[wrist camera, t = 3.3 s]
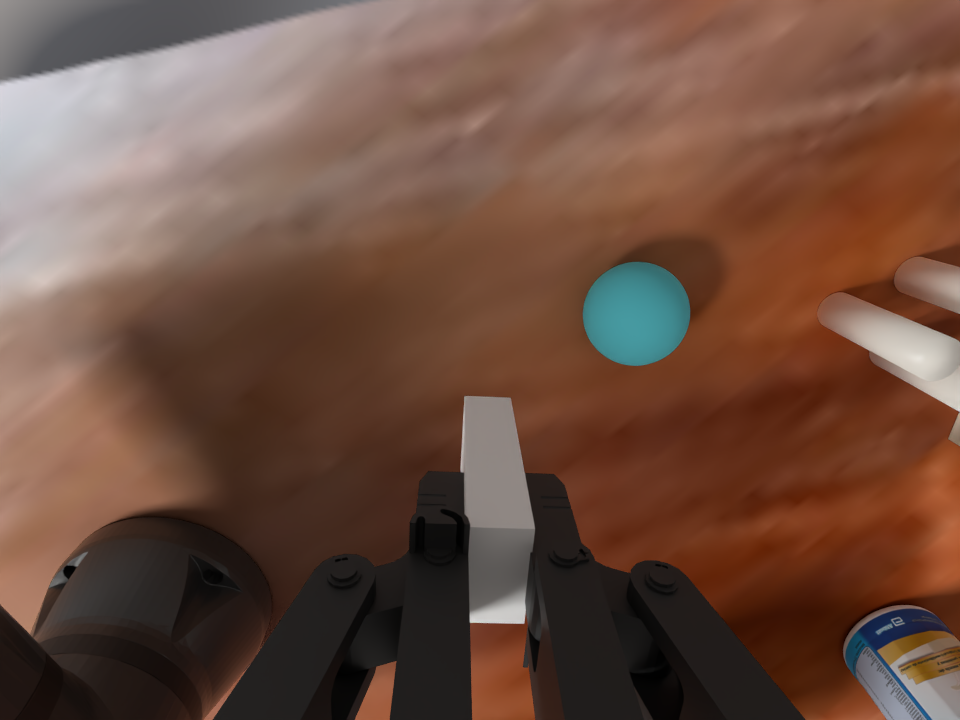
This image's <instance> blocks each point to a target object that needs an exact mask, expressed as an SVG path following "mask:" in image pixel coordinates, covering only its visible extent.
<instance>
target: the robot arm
mask: <svg viewBox="0 0 960 720" xmlns="http://www.w3.org/2000/svg"><path fill="white" fill-rule="evenodd" d="M525 612H526V614H527V621H528V629H527V638H526V646H525V654H524V663H523V667H528V663H529V672H530V680H531V688H532V696H533V704H534V712H535V720H805V719H804V717H803V716H802V715H801V714H800V712H799V711H798V710H797V709H796V708H795V706H794V705H793V704H792V703H791V702H790V700H789V699H788V698H787V697H786V696H785V694H784V693H783V692H782V691H781V689H780V688H779V687H778V686H777V685H776V683H775V682H774V681H773V680H772V679H771V677H770V676H769V675H768V674H767V673H766V671H765V670H764V669H763V668H762V667H761V665H760V664H759V663H758V662H757V660H756V659H755V658H754V657H753V656H752V654H751V653H750V652H749V651H748V650H747V648H746V647H745V646H744V645H743V644H742V642H741V641H740V640H739V639H738V637H737V636H736V635H735V634H734V633H733V631H732V630H731V629H730V628H729V627H728V625H727V624H726V623H725V622H724V621H723V619H722V618H721V617H720V616H719V614H718V613H717V612H716V611H715V610H714V608H713V607H712V606H711V605H710V604H709V602H708V601H707V600H706V599H705V598H704V596H703V595H702V594H701V593H700V591H699V590H698V589H697V588H696V587H695V585H694V584H693V583H692V582H691V581H690V579H689V578H688V577H687V576H686V575H685V574H684V573H683V572H681V571H680V570H679V569H677V568H676V567H674V566H672V565H670V564H668V563H664V562H660V561H643V562H640V563H637V564H636V565H635V566H634V567H633V568H632V569H631V573H627V572H623V571H619V570H616V569H612V568H609V567H606V566H604V565H602V564H600V563H598V562H596V561H595V559H594V557H593V555H592V553H591V551H590V550H589V549H588V548H587V547H585V546H584V545H583V544H582V543H581V540H580V537H579V533H578V530H577V526H576V523H575V519H574V516H573V513H572V509H571V506H570V502H569V499H568V496H567V492H566V489H565V485H564V484H563V483H562V482H561V481H560V480H559V479H558V478H557V477H556V476H555V475H554V474H533V473H525V472H524V466H523V461H522V456H521V450H520V445H519V440H518V434H517V429H516V424H515V418H514V413H513V408H512V402H511V398H506V397H481V396H464V414H463V432H462V450H461V472H436V471H428V472H427V474H426V475H425V476H424V477H423V478H422V479H421V481H420V483H419V492H418V500H417V509H416V514H414V515H413V517H412V519H411V521H410V541H409V551H408V552H407V553H406V554H405V555H404V556H403V557H401V558H400V559H398V560H396V561H394V562H391V563H388V564H385V565H381V566H376V567H374V565H373V564H372V563H371V562H370V561H369V560H368V559H367V558H364V557H362V556H359V555H353V554H343V555H338V556H333V557H331V558H329V559H327V560H325V561H323V562H322V563H321V564H320V565H319V566H318V567H317V568H316V569H315V570H314V572H313V573H312V575H311V576H310V577H309V579H308V580H307V582H306V583H305V585H304V586H303V588H302V589H301V591H300V592H299V594H298V595H297V597H296V598H295V600H294V601H293V602H292V604H291V605H290V607H289V608H288V610H287V611H286V613H285V614H284V616H283V617H282V619H281V620H280V622H279V623H278V625H277V626H276V627H275V629H274V630H273V632H272V633H271V635H270V636H269V638H268V639H267V641H266V642H265V644H264V645H263V647H262V648H261V650H260V651H259V649H260V646H261V644H262V641H263V639H264V636H265V634H266V631H267V628H268V626H269V623H270V619H271V614H272V600H271V594H270V590H269V587H268V584H267V582H266V580H265V578H264V576H263V574H262V572H261V571H260V569H259V568H258V566H257V565H256V564H255V562H254V561H253V560H252V559H251V558H250V557H249V556H248V555H247V554H246V553H245V552H244V551H243V550H242V549H241V548H239V547H238V546H237V545H235V544H234V543H233V542H231V541H230V540H228V539H227V538H225V537H223V536H222V535H220V534H218V533H216V532H214V531H212V530H210V529H207V528H205V527H202V526H199V525H197V524H193V523H190V522H186V521H182V520H177V519H170V518H159V517H144V518H134V519H128V520H123V521H119V522H116V523H113V524H110V525H108V526H105V527H103V528H101V529H99V530H97V531H96V532H94V533H93V534H91V535H90V536H89V537H87V538H86V539H85V540H84V541H83V542H82V543H81V544H80V545H79V546H78V547H77V548H76V549H75V550H74V552H73V553H72V554H71V555H70V556H69V557H68V558H67V559H66V560H65V561H64V563H63V564H62V565H61V566H60V568H59V569H58V570H57V572H56V574H55V575H54V577H53V579H52V581H51V583H50V585H49V588H48V590H47V593H46V595H45V598H44V601H43V603H42V606H41V608H40V611H39V613H38V616H37V618H36V621H35V623H34V626H33V628H32V631H31V633H30V634H29V633H28V632H27V631H26V630H25V629H24V628H23V627H22V626H21V625H20V624H19V623H18V622H17V621H16V620H15V619H14V618H13V617H12V616H11V615H10V614H9V613H8V612H7V611H6V610H5V609H4V608H3V607H2V606H1V605H0V720H203V719H204V718H205V717H206V716H207V715H208V714H209V712H210V711H211V710H212V709H213V708H214V706H215V705H216V704H217V703H218V702H219V701H220V699H221V698H222V697H223V696H224V695H225V693H226V692H227V691H228V690H229V689H230V687H231V686H232V685H233V684H234V683H235V681H236V680H237V679H238V678H239V677H240V675H241V674H242V673H243V672H244V671H245V670H246V668H247V667H248V666H249V665H250V666H249V667H248V669H247V670H246V672H245V673H244V675H243V676H242V677H241V679H240V680H239V682H238V683H237V685H236V686H235V688H234V689H233V691H232V692H231V694H230V695H229V697H228V698H227V700H226V701H225V702H224V704H223V705H222V707H221V708H220V710H219V711H218V713H217V714H216V716H215V717H214V719H213V720H355V717H356V715H357V713H358V711H359V708H360V706H361V704H362V701H363V699H364V697H365V694H366V692H367V690H368V688H369V685H370V683H371V681H372V678H373V676H374V674H375V670H376V666H380V665H383V664H387V663H390V662H394V661H397V662H396V671H395V679H394V688H393V696H392V705H391V713H390V720H472V698H471V652H470V623H518V624H524V620H525ZM258 651H259V652H258ZM257 653H258V654H257ZM256 654H257V655H256ZM255 656H256V657H255ZM253 659H254V660H253ZM251 662H252V663H251Z"/></svg>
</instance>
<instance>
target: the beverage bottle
mask: <svg viewBox="0 0 960 720" xmlns="http://www.w3.org/2000/svg"><path fill="white" fill-rule="evenodd" d="M843 656H844V660H845V663H846V665H847V666H848V668H849V669H850V671H851V672H852V674H853V675H854V676H855V678H856V679H857V680H858V681H859V682H860V683H861V685H862V686H863V687H864V689H865V690H866V691H867V693H868V694H869V695H870V697H871V698H872V699H873V701H874V702H875V704H876V705H877V706H878V708H879V709H880V711H881V712H882V713H883V715H884V716H885V718H886V719H887V720H960V641H959V640H958V639H957V638H956V637H955V636H954V635H953V634H952V632H951V631H950V630H949V629H948V627H947V626H946V625H945V624H944V623H943V622H942V621H941V620H940V619H939V618H938V617H937V616H936V615H935V614H933V613H932V612H930V611H928V610H926V609H924V608H921V607H918V606H913V605H896V606H890V607H886V608H883V609H880V610H878V611H875V612H873V613H871V614H869V615H868V616H866V617H865V618H863V619H862V620H861V621H859V622H858V623H857V624H856V625H855V626H854V627H853V628H852V630H851V631H850V632H849V634H848V636H847V637H846V640H845V643H844V647H843Z"/></svg>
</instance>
